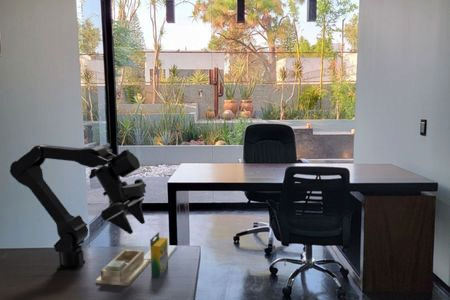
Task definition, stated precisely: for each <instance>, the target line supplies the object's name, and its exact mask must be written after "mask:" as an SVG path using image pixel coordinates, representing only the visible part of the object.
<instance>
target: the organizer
mask: <svg viewBox="0 0 450 300" xmlns="http://www.w3.org/2000/svg"><path fill="white" fill-rule="evenodd" d="M144 253H145V252H144V250H140V249H139V250H138V249H137V250H135V249H123V250H122V251H121V252H120V253H118V255H116V256H115V257H114V258H113V259H112V260H110V261H109V262H108V263H107V264H106V265H105V266H104V267H103V268H102V269H100V275H99V276H98V277H97V278H96V279H95V283H96V284H102V285H111V286H114V285H115V286H116V285H117V286H125V287H127V286H130V284H131V283H133V282H134V280H135V279H136V278H137V277H138V276H139V275H140V273H141V272H142V271H143V270H144V269H145V268H146V267H147V265H148V264H150V262H149V260H144V256H145V254H144Z"/></svg>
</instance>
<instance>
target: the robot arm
mask: <svg viewBox="0 0 450 300" xmlns="http://www.w3.org/2000/svg"><path fill="white" fill-rule="evenodd" d="M46 159H49V160H57V161H58V160H59V161H66V162H67V161H68V162H69V161H70V162H75V163H78V164H79V165H80V166H84V167H88V168H91V170H90V174H89V176H88V178H89V179H90V180H91V179H93V178H97V180H98V181H99V184H100V185H101V188H102V190H104V192H103V193H102V194H103V195H102V196H104V197H105V196H107V198H108V199H109V201H110V202H111V203H110V204H109V206H108V207H107V208H105V209H103V210H101V212H100V213H101V214H100V216H101V218H102V220H103V221H106V222H107V223H109V222H110V223H112V224H113V225H115V226H116V227H118V228H119V229H121V230H122V231H124V232H126V233H127V234H129V235H131V234H133V233H134V231H133V229H132V226H131V223H130V222H129V220H128V217H127V213H130V214H131V215H132V216H133V218H135V219H136V220H137V221H138V222H139V223H140V224H141V225H144V224H145V223H146V220H145V217H144V213H143V207H142V204H143V202H144V200H145V199H144V197H145V194H146V193H147V192H146V191H147V190H146V187H147V184H146V183H145V181H144V180H143V179H142V178H138V179H136V180H134V182H133V183H131V184H128V183H127V181H125V180H124V181H122V180H121V178H125V177H126V176H129V175H130V174H131V173H133V172H136V171H137V170H138V169H140V167H141V165H140V160H139V158H138V157H137V156H135V154H134V153H132V152H130V150H129V149H128V148H127V149H124V150H122V151H121V152H120V153H119V154H117V155H116V154H114V153H112V152H110V151H108V150H107V148H106V147H105V146H102V145H97V146H87V147H86V146H85V147H70V146H62V145H61V146H60V145H59V146H58V145H49V144H46V143H44V144H38V145H34V146H33V147H32V148H31V149H30V150H29V151H28V152H27V153H26V154H24V155H22V156H21V157H19V158H18V159H17V160H15V161H13V162H12V163H11V164H10V166H9V167H10V168H9V172H10V173H9V174H10V175H11V177H12V178H14V180H16V182H18V183H19V184H21V185H23V186H25V187H27V188H28V189H29V190H30V191H31V193H32V194H33V196H35V198H36V199H37V201H39V202H38V203H40V204H41V206H42V207H43V208H44V209H45V210H44V211H46V213H48V215H49V216H50V218H51V220H52V221H53V222H54V223H55V224H56V232H57V235H58V237H59V239H58V240H57V242H56V243H54V245H53V248H54V250H55V252H56V253H58V255H59V257H58V261H59V265H58V266H57V267H56V269H58V270H68V271H69V270H71V271H75V270H78V269H79V268H80V267H81V266H83V264H85V263H86V260H84V251H83V250H82V249H83V248H82V244H83V243H85V239H86V238H87V236H88V235H89V229H88V223H86V222H85V221H84V220H83V218H82V216H81V215H79V214H78V215H76V216H74V215H72V214H71V213H70V212H69V211H68V210H67V209H66V207H65V206H64V205H63V203H62V202H61V200H60V199H59V198H58V196H57V195H56V194H55V192H54V191H53V190H52V188H50V186H49V185H48V183H47V182H46V180H44V174H43V170H42V168H41V166H42V165H43V164H44V163H45V161H46ZM109 164H110V165H109ZM107 165H108V166H107ZM99 166H100V167H99ZM96 167H98V168H96ZM120 177H121V178H120ZM127 211H128V212H127Z"/></svg>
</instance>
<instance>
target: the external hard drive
mask: <svg viewBox="0 0 450 300" xmlns="http://www.w3.org/2000/svg"><path fill="white" fill-rule="evenodd" d="M167 245H168V259H170V257H171V256H172V255H173V253H174V252H175V251H176V250H177V247H178V246H177V245H170V244H167ZM144 260H149V263H151V248H150V249H149V250H148V251H147V253H146V254H144Z"/></svg>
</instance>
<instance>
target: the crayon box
mask: <svg viewBox="0 0 450 300" xmlns="http://www.w3.org/2000/svg"><path fill="white" fill-rule="evenodd" d="M149 242H150V245H149V246H150V249H151V262H150V271H151V272H150V273H151V276H150V277H152V278H161V277H162V275H163V274H164V273H165V272H166V270H167V269H168V268H169V258H168V245H169V244H168V237H160V232H159V231H158V232H157V233H156V234H155V235H154V236H152V238H150V240H149Z"/></svg>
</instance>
